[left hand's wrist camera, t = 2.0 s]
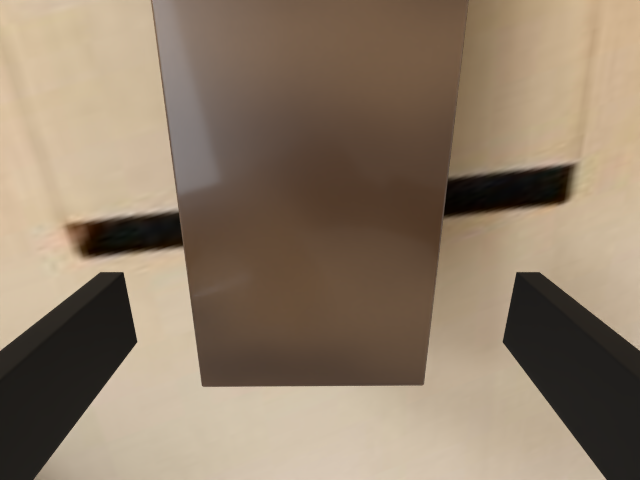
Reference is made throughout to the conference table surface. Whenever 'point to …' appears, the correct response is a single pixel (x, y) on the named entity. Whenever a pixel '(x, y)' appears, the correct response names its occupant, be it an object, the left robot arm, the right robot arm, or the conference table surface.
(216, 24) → the box
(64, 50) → the conference table surface
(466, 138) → the conference table surface
